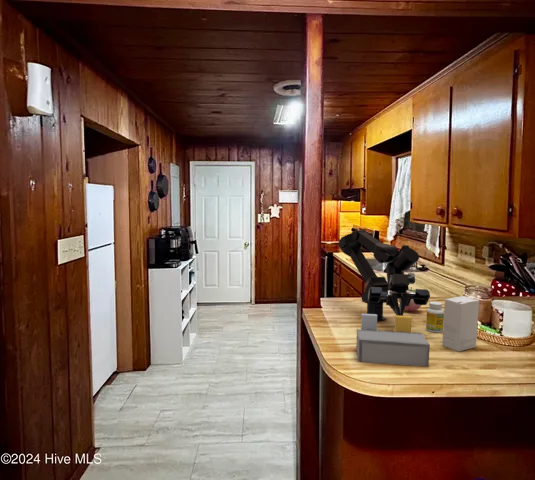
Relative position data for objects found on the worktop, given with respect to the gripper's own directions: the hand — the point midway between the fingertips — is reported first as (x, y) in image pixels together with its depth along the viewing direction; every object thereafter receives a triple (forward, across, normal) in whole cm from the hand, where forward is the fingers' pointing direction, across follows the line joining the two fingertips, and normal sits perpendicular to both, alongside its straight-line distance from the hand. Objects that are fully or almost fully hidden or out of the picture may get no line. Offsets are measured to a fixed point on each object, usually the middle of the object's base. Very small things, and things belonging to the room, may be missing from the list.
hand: (400, 319), depth 121 cm
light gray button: (+10, -10, -2) cm, 15 cm away
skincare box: (+7, +17, +3) cm, 18 cm away
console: (+15, -5, -6) cm, 17 cm away
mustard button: (+10, 0, -2) cm, 11 cm away
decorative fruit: (-20, +10, +30) cm, 38 cm away
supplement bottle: (-4, +14, +13) cm, 19 cm away
